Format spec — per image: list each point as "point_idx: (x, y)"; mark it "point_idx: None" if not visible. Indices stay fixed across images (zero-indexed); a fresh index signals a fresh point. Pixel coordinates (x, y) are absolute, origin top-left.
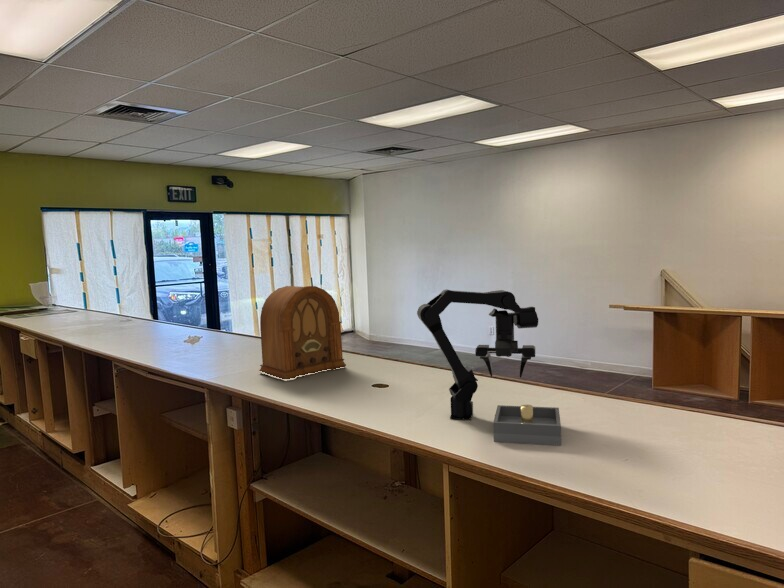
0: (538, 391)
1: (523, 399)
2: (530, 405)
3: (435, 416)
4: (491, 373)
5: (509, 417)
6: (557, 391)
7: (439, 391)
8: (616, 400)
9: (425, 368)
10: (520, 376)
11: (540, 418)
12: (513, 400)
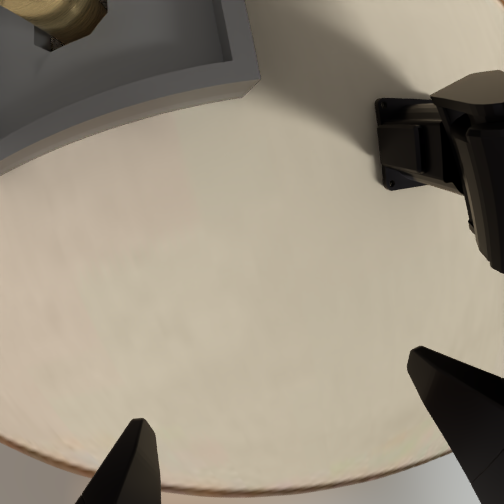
0: (201, 469)
1: (220, 417)
2: (6, 1)
3: None
4: (434, 362)
5: (171, 65)
6: None
7: (464, 359)
8: (10, 436)
9: None
10: (134, 424)
11: (22, 126)
12: (252, 399)
